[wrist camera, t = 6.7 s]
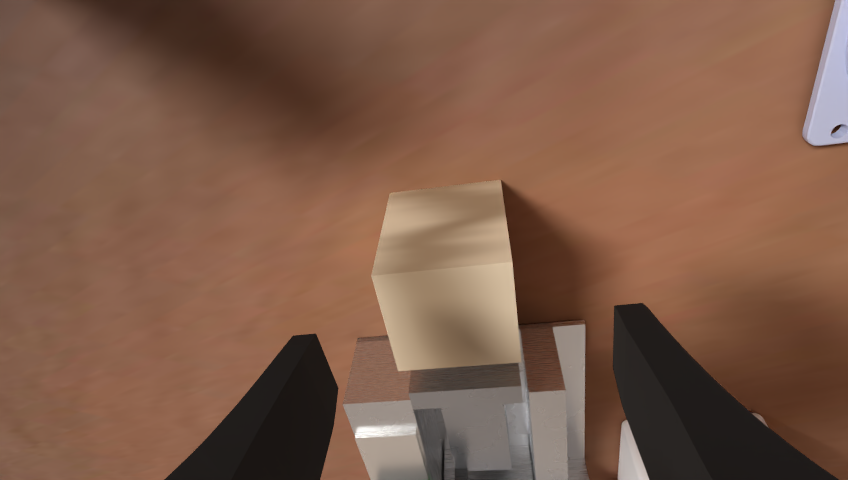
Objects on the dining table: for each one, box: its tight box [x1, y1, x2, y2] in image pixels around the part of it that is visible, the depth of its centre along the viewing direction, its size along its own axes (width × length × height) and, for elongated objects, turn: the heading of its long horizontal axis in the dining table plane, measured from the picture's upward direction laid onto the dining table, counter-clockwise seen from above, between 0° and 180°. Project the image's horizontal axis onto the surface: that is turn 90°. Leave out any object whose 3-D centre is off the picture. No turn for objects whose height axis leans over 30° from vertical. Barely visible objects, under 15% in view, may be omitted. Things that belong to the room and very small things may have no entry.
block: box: [371, 180, 521, 371], centre depth 20 cm, size 4×4×6 cm
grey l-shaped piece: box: [408, 363, 523, 480], centre depth 24 cm, size 8×8×4 cm
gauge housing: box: [343, 320, 589, 480], centre depth 26 cm, size 11×12×6 cm
